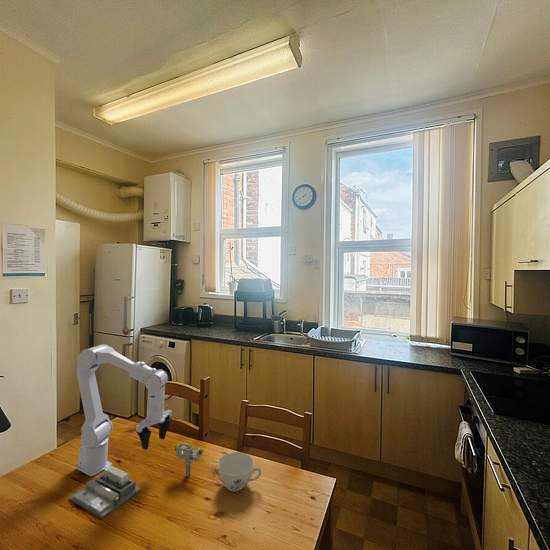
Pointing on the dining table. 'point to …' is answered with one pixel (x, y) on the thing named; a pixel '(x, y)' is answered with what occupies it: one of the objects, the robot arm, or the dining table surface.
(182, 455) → the mechanical component
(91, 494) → the fixed leaf
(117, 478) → the brushed steel bar
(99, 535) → the dining table surface
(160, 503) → the dining table surface
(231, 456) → the teacup
